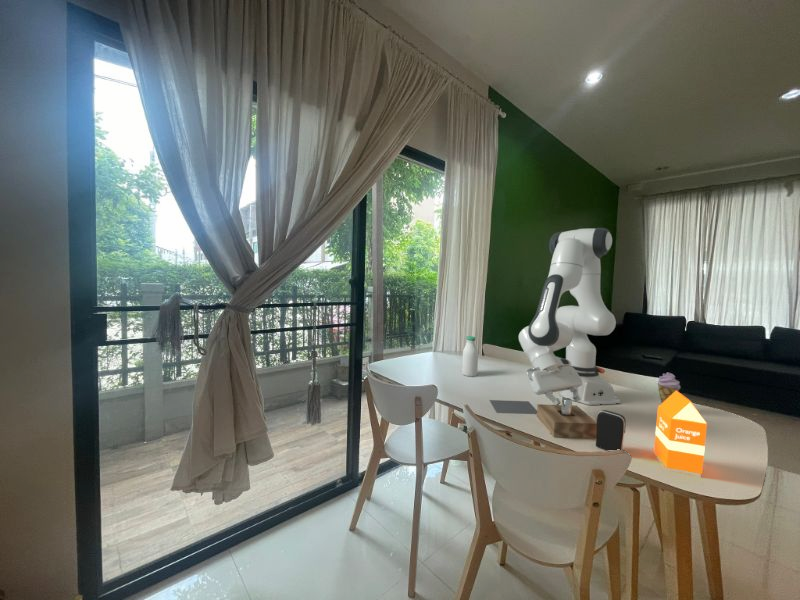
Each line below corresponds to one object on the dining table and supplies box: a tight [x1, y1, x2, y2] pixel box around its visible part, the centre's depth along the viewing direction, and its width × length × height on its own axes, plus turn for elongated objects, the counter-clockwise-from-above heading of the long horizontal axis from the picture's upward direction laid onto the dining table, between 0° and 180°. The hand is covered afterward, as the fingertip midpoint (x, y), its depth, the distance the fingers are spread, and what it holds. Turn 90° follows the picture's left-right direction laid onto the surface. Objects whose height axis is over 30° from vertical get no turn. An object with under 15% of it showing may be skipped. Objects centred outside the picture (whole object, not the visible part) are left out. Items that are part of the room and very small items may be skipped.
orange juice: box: [653, 390, 708, 475], centre depth 87 cm, size 8×9×20 cm
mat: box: [489, 399, 537, 415], centre depth 124 cm, size 16×12×1 cm
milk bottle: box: [461, 335, 479, 378], centre depth 164 cm, size 8×8×20 cm
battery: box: [595, 409, 627, 451], centre depth 95 cm, size 7×4×11 cm, turn 42°
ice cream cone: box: [657, 372, 681, 404], centre depth 123 cm, size 7×6×15 cm
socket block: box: [536, 403, 597, 439], centre depth 109 cm, size 14×14×5 cm
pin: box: [561, 397, 573, 416], centre depth 108 cm, size 3×3×10 cm
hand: (568, 402), depth 108 cm, fingers open, 8 cm apart
